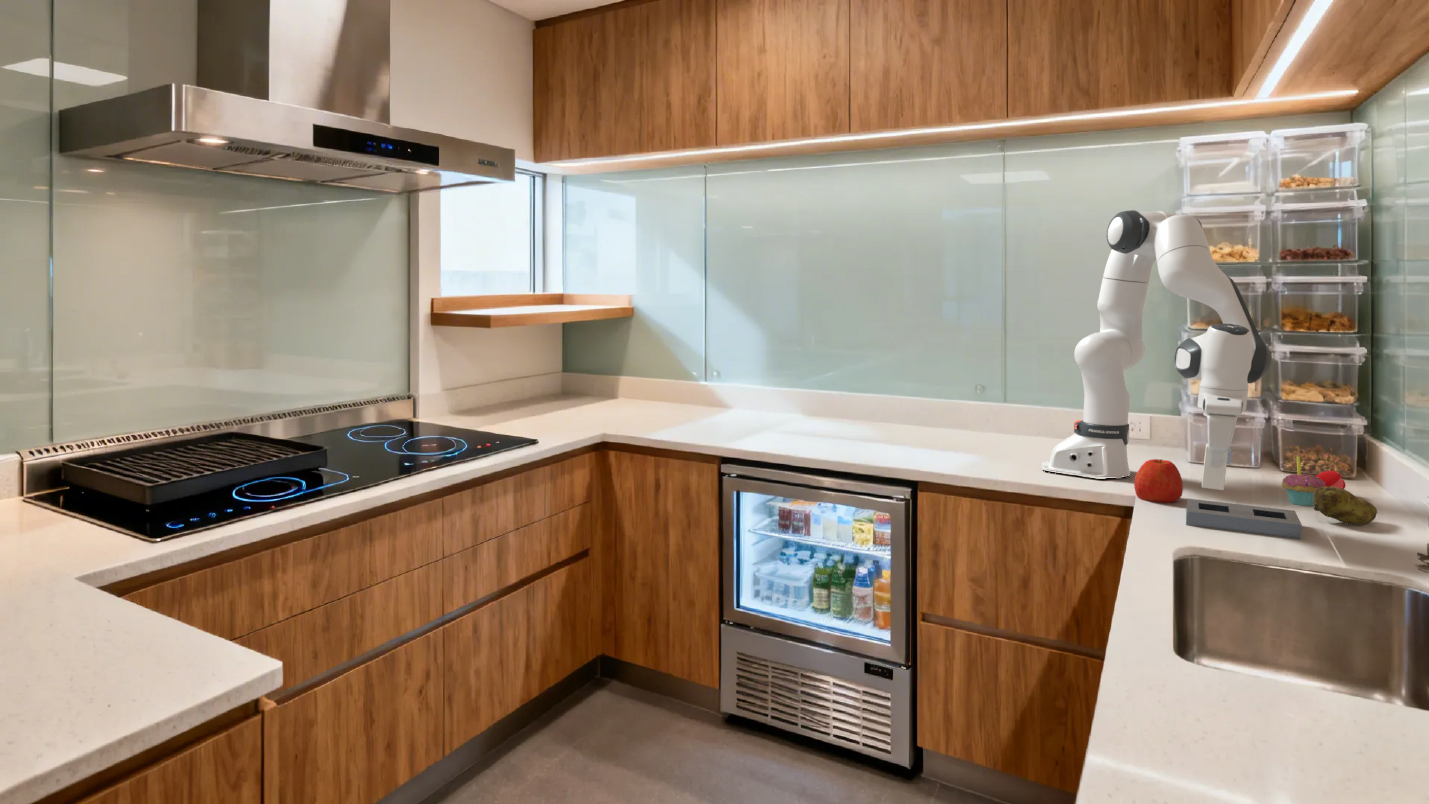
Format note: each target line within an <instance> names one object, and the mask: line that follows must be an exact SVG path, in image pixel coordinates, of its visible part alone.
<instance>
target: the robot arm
mask: <svg viewBox="0 0 1429 804" xmlns="http://www.w3.org/2000/svg"><path fill="white" fill-rule="evenodd" d="M1106 240H1107V244H1108V246H1109V247H1110V249H1111V250H1110V252H1109V255H1108V258H1107V261H1106V265H1105V266H1104V271H1103V275H1102V280H1101V284H1100V290H1099V294H1098V298H1097V303H1096V305H1097V311H1098V313H1099V321H1100V322H1099V323H1100V326H1099V331H1098V332H1093V333H1091V334H1088V335H1086V336H1085V337H1083V338H1082V339H1081V340H1080V341H1079V342H1078V343H1077V344H1076V345H1075V347H1074V348H1075V349H1074V354H1073V355H1074V361H1075V362H1076V364H1077V366H1078V367H1079V370H1080V374H1081V378H1082V384H1083V385H1082V386H1083V395H1084V396H1083V400H1084V401H1083V415H1082V420H1081V419H1076V420H1075V421H1074V422H1073V425H1074V426H1073V428H1074V429H1073V433H1072V434H1071V435H1070V436H1067V438H1064V439H1063V440H1062V441H1060V442H1059V443H1057V444H1056V445H1055V446H1054V447H1053V449H1051V450H1052V451H1051V453H1050V457H1049V459H1048V460H1045V461H1043V462H1042V463H1041V467H1042V468H1043V469H1046V470H1050V471H1056V472H1067V473H1073V474H1079V475H1091V476H1095V477H1122V476H1128V475H1130V474H1131V471H1130V466H1129V460H1128V458H1129V457H1128V444H1129V439H1130V423H1129V412H1130V411H1129V410H1130V393H1129V392H1128V390H1127V386H1126V381H1125V377H1124V370H1128V369H1131V368H1133V367H1134V366H1135V365H1137V364H1138V363H1139V362H1140V361H1141V360H1142V359H1143V357H1144V356H1145V355H1144V354H1145V343H1144V341H1143V313H1144V312H1143V311H1144V307H1145V303H1146V298H1147V297H1146V296H1147V292H1148V287H1149V283H1150V278H1151V274H1152V273H1151V272H1152V267H1153V264H1154V263H1155V261H1156V266H1157V271H1158V277H1159V279H1160V281H1161V283H1162V285H1163V286H1164V288H1165V289H1166V290H1168V291H1169V292H1171V293H1172V294H1175V295H1176V296H1179V297H1181V298H1185V299H1189V300H1193V301H1196V302H1198V303H1201V304H1204V305H1206V306H1208V307H1210V308H1211V309H1213V310H1215V312H1217V314H1218V315H1219V316H1218V317H1219V318H1220V320H1221V322H1222V323H1216V324H1212V325H1210V326H1209V327H1208V328H1207V330H1206V331H1205V332H1204V333H1202V334H1200V335H1198V336H1194V337H1188V338H1186V339H1184V340H1183V341H1182V342H1181V343H1180V344H1179V345H1178V347H1177V348H1176V351H1175V354H1174V367H1175V369H1176V371H1177V372H1178V373H1179V374H1180V375H1181V377H1183V378H1185V379H1187V380H1188V379H1189V380H1193V381H1200V383H1199V388H1198V396H1197V397H1198V399H1197V404H1196V405H1197V408H1199V409H1201V410H1202V411H1203V416H1205V417H1206V421H1207V429H1206V430H1207V431H1206V433H1207V434H1206V435H1207V444H1208V447H1209V450H1211V466H1212V467H1216V468H1219V467H1220V466H1221V459H1222V455H1223V452H1228V451H1229V449H1231V445H1232V442H1233V438H1234V433H1235V430H1236V425H1237V421H1238V417H1240V416H1241V415H1242V413H1243V412H1246V410H1247V402H1248V395H1249V384H1254V383H1255V382H1257V381H1258V380H1260V379H1261V378H1263V377H1264V376H1265V375H1266V374H1267V373H1268V371H1269V370H1270V368H1271V367H1272V353H1271V350H1270V348H1269V347H1268V345H1267V343H1266V341H1265V340H1264V339H1263V338H1262V336H1261V334H1260V333H1259V331H1258V329H1257V327H1256V325H1255V323H1254V322H1255V321H1254V320H1253V318H1252V316H1251V314H1250V312H1249V309H1248V307H1247V305H1246V302H1245V301H1244V297H1243V296H1242V294H1241V292H1240V289H1239V288H1238V286H1237V284H1236V282H1235V281H1234V279H1232V278H1231V277H1229V276H1228V275H1226V274H1225V273H1224V272H1223V270H1221V268H1220V267H1219V266H1218V265H1217V262H1215V260H1214V259H1213V256H1212V253H1211V249H1210V245H1209V241H1208V240H1207V236H1206V233H1205V231H1204V230H1203V225H1202V223H1201V221H1200V220H1199V219H1198V218H1196V217H1194V216H1192V215H1189V214H1185V213H1184V214H1183V213H1182V214H1179V213H1175V212H1169V211H1161V210H1158V211H1152V210H1151V211H1150V210H1149V211H1147V210H1144V211H1143V210H1142V211H1139V210H1138V211H1137V210H1124V211H1120V212H1118V213H1116V215H1114V216H1113V218H1112V219H1111V220H1110V221H1109V224H1108V227H1107V230H1106ZM1041 467H1040V468H1041ZM1130 476H1131V475H1130Z"/></svg>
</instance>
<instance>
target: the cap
mask: <svg viewBox="0 0 1429 804" xmlns="http://www.w3.org/2000/svg"><path fill="white" fill-rule="evenodd" d="M1314 475H1315V474H1314ZM1315 476H1316V477H1318V478H1320V479H1321V480H1322V481H1324V482H1325V484H1326V485H1325V486H1326V487H1328V486H1330V487H1338V488H1342V489H1345V488H1346V482H1345V480H1344V479H1343V475H1342V474H1341V473H1339V472H1337V471H1334V470H1326V471H1323V472H1320V473H1318V474H1317V475H1315ZM1345 490H1346V489H1345Z"/></svg>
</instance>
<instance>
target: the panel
mask: <svg viewBox="0 0 1429 804" xmlns="http://www.w3.org/2000/svg"><path fill="white" fill-rule="evenodd" d="M1185 506H1186V507H1185V525H1186V526H1191V527H1198V528H1207V529H1213V530H1214V529H1215V530H1222V531H1231V532H1237V533H1247V534H1253V535H1261V536H1267V537H1268V536H1270V537H1277V538H1286V539H1293V540H1299V541H1300V540H1301V538H1302V536H1301V535H1302V528H1303V527H1302V526H1303V524H1302V522H1301V520H1300V518H1299V516H1298V514H1297V511H1296V510H1293V509H1292V510H1291V509H1285V508H1284V509H1283V508H1275V507H1274V508H1273V507H1267V506H1258V505H1257V506H1255V505H1250V504H1249V505H1248V504H1240V503H1232V502H1231V503H1230V502H1222V501H1213V500H1205V499H1204V500H1203V499H1195V498H1186V505H1185Z"/></svg>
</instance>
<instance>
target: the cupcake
mask: <svg viewBox="0 0 1429 804" xmlns="http://www.w3.org/2000/svg"><path fill="white" fill-rule="evenodd" d="M1296 466H1297V467H1296V468H1297V470H1296V472H1297V473H1294V474H1293V473H1292V474H1288V475H1285V477H1284V478H1283V479H1282V482H1281V487H1282V488H1284V489H1285V490H1286V493H1287V496H1288V502H1289V503H1291V504H1293V505H1297V506H1304V507H1305V506H1306V507H1311V506H1312V507H1313V506H1315V505H1314V502H1313V494H1314V493H1315V491H1316V490H1317V489H1320V488H1323V487H1326V486H1325V485H1326V484H1325V482H1324V481H1322V480H1321V479H1320V478H1318V477H1316V476H1317V475H1316V476H1315V474H1309V473H1302V469H1301V457H1300V456H1299V454H1298V453H1296Z"/></svg>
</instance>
